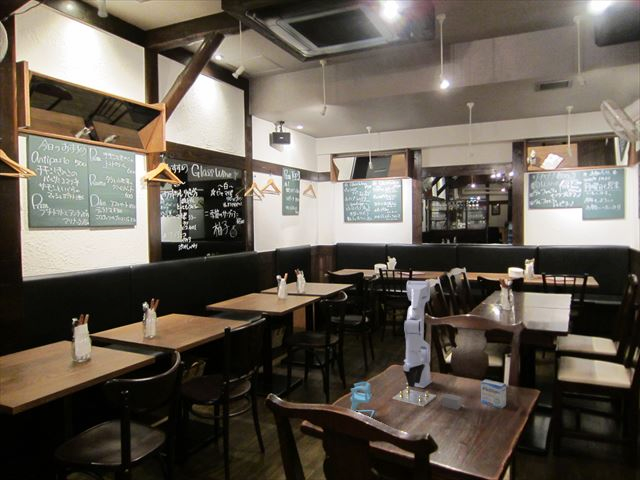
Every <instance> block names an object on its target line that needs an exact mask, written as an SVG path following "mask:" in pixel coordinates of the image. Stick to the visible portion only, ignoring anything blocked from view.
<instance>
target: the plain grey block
mask: <svg viewBox="0 0 640 480" xmlns="http://www.w3.org/2000/svg"><path fill="white" fill-rule="evenodd" d="M441 407H442V408H447V409H451V410H455V411H459V410H460V409H461V408H462V396H458V395H455V394H451V393H450V394H449V393H445V394H444V395H442V396H441Z"/></svg>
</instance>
